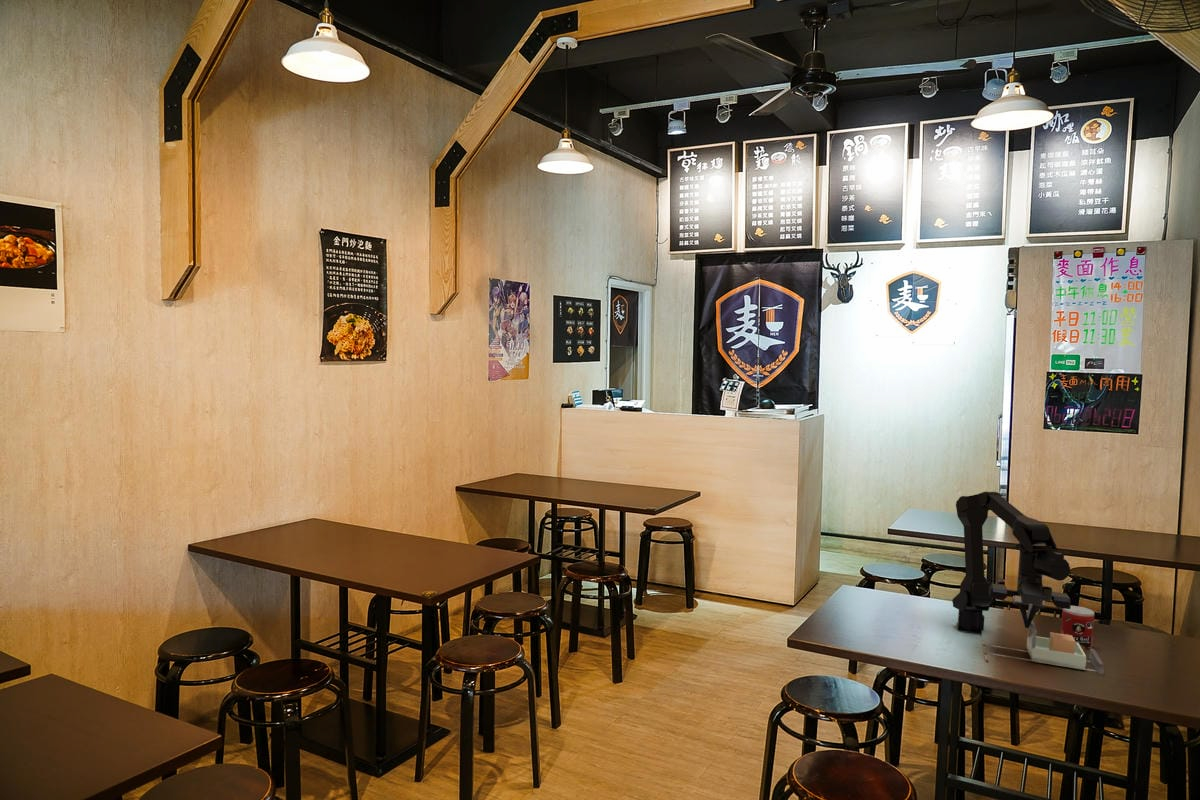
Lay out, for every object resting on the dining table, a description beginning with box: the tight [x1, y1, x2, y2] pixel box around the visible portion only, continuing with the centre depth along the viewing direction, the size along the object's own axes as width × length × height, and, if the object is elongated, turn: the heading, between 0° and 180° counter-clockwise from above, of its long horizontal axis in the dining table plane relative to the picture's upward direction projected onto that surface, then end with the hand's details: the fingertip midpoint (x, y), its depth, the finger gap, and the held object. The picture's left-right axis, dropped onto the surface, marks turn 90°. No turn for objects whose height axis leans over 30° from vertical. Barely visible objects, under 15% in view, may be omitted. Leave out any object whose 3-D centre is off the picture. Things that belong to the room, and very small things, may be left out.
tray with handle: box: [1026, 620, 1087, 671], centre depth 205 cm, size 12×11×9 cm
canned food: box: [1060, 605, 1095, 651], centre depth 218 cm, size 8×8×11 cm
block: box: [1049, 631, 1075, 654], centre depth 205 cm, size 5×5×5 cm
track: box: [980, 639, 1105, 676], centre depth 206 cm, size 27×16×4 cm, turn 67°
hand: (1026, 627), depth 207 cm, fingers closed
